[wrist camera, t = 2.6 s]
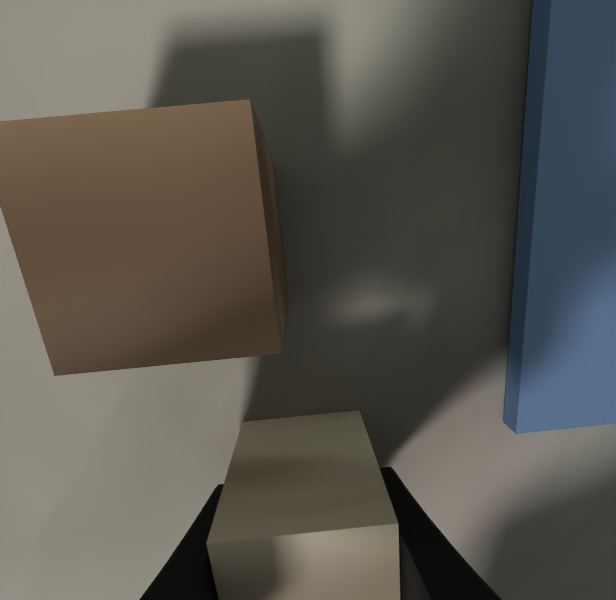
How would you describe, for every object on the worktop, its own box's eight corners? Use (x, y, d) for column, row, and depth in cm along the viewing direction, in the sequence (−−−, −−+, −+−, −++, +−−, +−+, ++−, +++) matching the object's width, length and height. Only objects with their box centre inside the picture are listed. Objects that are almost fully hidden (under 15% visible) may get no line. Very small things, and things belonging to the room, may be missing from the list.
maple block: (364, 503, 11) (401, 656, 7) (258, 514, 11) (234, 674, 7) (359, 409, 10) (398, 523, 6) (242, 420, 10) (206, 543, 6)
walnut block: (288, 301, 9) (280, 353, 5) (160, 314, 9) (54, 376, 5) (273, 163, 8) (249, 99, 4) (131, 176, 8) (-27, 123, 4)
